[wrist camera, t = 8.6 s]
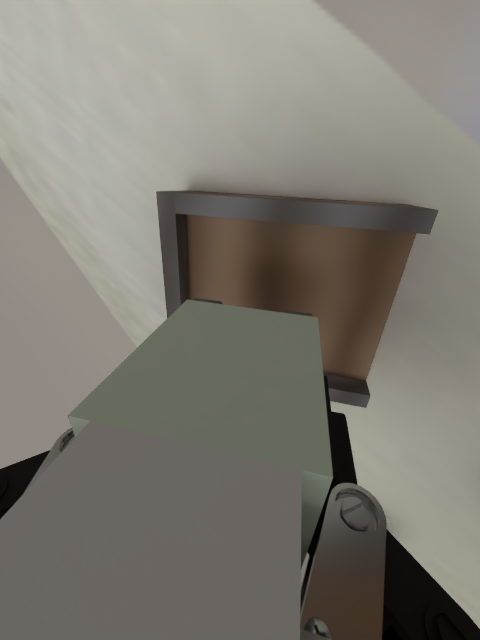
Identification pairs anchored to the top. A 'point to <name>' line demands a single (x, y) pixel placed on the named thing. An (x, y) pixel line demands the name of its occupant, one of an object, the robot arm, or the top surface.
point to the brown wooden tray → (294, 266)
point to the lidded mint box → (179, 490)
